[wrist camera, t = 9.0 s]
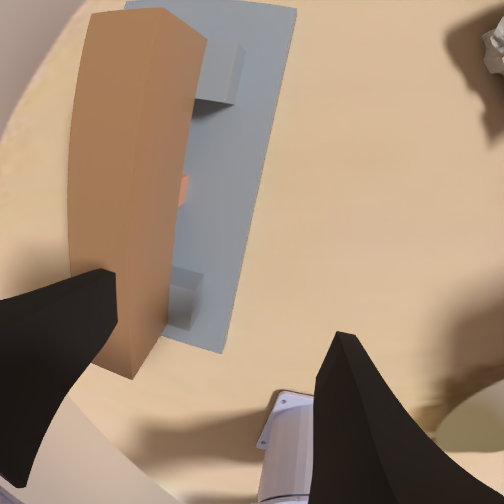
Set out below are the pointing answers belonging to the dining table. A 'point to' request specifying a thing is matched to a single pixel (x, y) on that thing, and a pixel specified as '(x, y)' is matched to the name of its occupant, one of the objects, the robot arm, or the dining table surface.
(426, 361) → the dining table surface
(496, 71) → the stone castle ruin
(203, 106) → the display stand
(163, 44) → the brown bar
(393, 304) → the dining table surface
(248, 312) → the dining table surface
